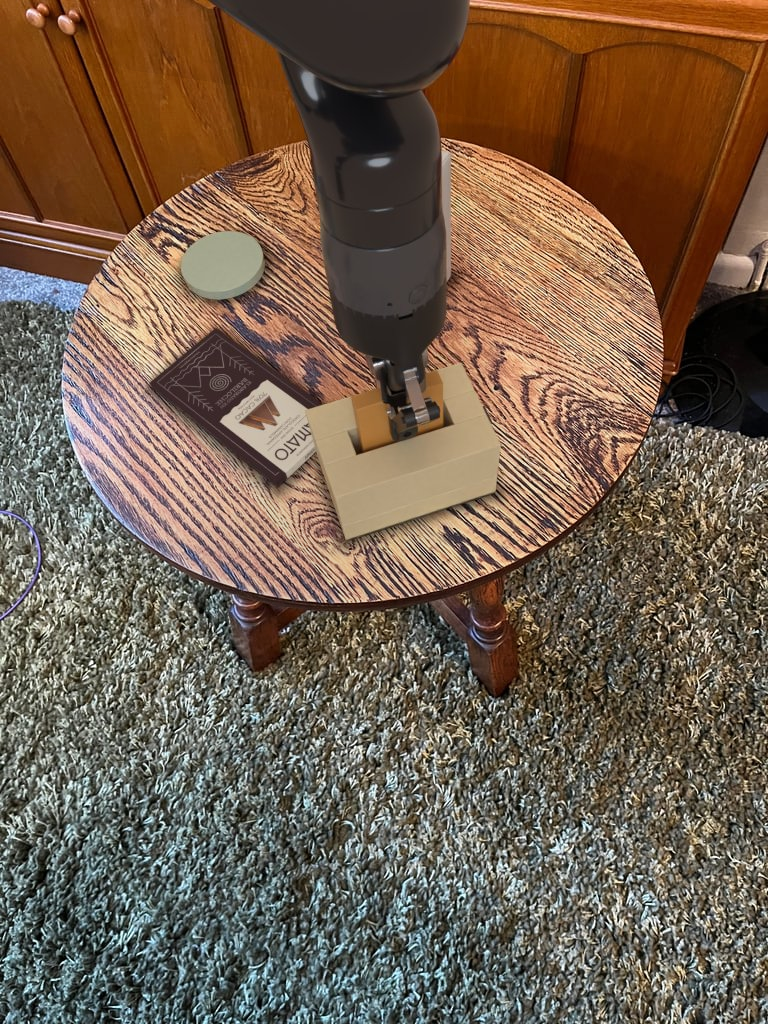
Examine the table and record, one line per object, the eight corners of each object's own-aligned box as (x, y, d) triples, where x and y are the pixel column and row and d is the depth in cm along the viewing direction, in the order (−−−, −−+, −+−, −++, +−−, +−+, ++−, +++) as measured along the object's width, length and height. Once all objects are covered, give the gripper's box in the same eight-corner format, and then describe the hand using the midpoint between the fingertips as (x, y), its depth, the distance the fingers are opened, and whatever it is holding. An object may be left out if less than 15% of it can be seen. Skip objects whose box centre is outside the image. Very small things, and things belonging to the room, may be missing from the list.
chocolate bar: (215, 327, 79) (343, 418, 72) (218, 334, 80) (344, 424, 73) (149, 382, 76) (275, 482, 70) (152, 388, 77) (277, 487, 70)
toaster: (346, 542, 67) (334, 497, 60) (318, 460, 72) (304, 410, 65) (504, 490, 69) (510, 441, 62) (467, 413, 73) (469, 359, 66)
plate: (192, 309, 82) (189, 301, 81) (177, 252, 86) (173, 244, 85) (273, 285, 83) (271, 277, 82) (254, 230, 87) (252, 221, 86)
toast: (368, 477, 67) (356, 410, 58) (363, 464, 68) (350, 396, 59) (443, 453, 68) (443, 383, 59) (438, 440, 68) (437, 369, 59)
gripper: (299, 211, 51) (333, 376, 66) (360, 364, 44) (382, 508, 59) (407, 180, 51) (416, 351, 66) (483, 327, 45) (473, 478, 60)
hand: (400, 424), depth 63 cm, fingers closed on toast, 1 cm apart
